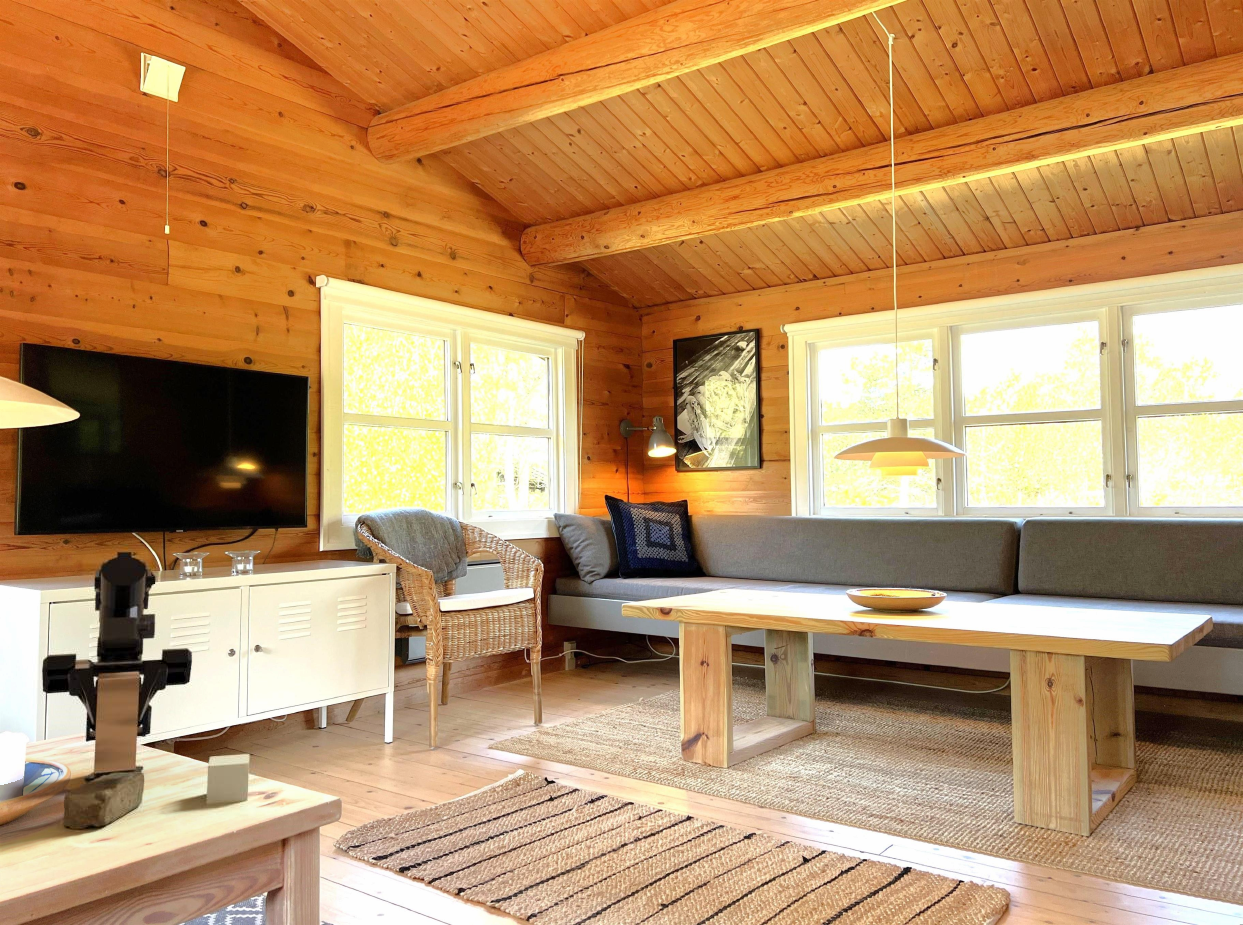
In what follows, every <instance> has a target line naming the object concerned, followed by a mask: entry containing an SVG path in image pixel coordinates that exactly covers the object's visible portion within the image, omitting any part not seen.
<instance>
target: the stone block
mask: <svg viewBox="0 0 1243 925" xmlns="http://www.w3.org/2000/svg"><path fill="white" fill-rule="evenodd" d="M144 789H145V775H144V773H143V772H142V771H140V772H130V773H121V772H120V773H111V774H110V775H103V776H101V777H100V778H97V779H95V780H93V781H88V782H87V783H84V784H83V785H80V786H79V787H77V788H75V789H73V790H71V791H68V792H67V793H66V794H65V796H64V798H63V808H64V811H63V821H62V826H63V827H64V828H71V829H73V830H84V829H86V828H88V827H93V826H94V827H100V826H107V825H108V824H111V823H113V822H115V821H117V820H118V819H121V817H124V816H125V815H127V814H128V813H129V812H131V811H133V810H135V809H136V808H139V806H141V804H142V802H143V794H144Z"/></svg>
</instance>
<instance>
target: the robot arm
mask: <svg viewBox="0 0 1243 925" xmlns="http://www.w3.org/2000/svg"><path fill="white" fill-rule="evenodd" d="M132 553H133V552H132V551H117V553H116V557H112V558H110V559H107V561H102V562H101V564H100V568H95V574H94V585H93V586H94V592H95V596H94V598H95V602H94V611H95V612H99V613H98V614H99V615H98V619H99V620H98V623H99V628H98V630H99V631H98V638H97V644H96V645H97V646H96V657H97V661H92V660H91V659H87V658H85V659H77V653H65V654H63V653H61V654H59V653H58V654H48V655H47V656H46V657H45V658H43V660H42V666H41V667H42V669H41V674H42V676H41V677H42V678H41V679H42V692H44V693H46V694H59V693H62V694H63V693H68V695H69V696H70V697H78V699H79V701H80V702H81V703H82V705H83V706H84V707H85V710H86V724H85V742H91V741H95V738H96V716H97V694H98V678H99V674H106V673H123V672H139V677H140V678H139V701H138V724H137V738H138V737H145V738H146V735H150V734H151V728H152V727H151V723H152V711H153V710H152V709H153V708H152V707H153V706H152V705H151V704H150V703H151V701H152V700H153V698H154V697H155V695H156V694H157V693H158V691H163V690H165V689H166V687H167V686H179V685H180V686H181V685H182V686H183V685H187V684H188V683H190V680H191V673H192V667H193V666H192V663H193V652H192V651H191V650H190V649H189V648H187V647H183V648H180V647H179V648H164V649H162V650H161V659H147V660H146V659H145V660H143V657H142V656H143V654H144V639H145V640H146V639H147V640H148V639H154V638H155V634H156V614H155V613H145V614H144V610H148V609H149V598H150V591H151V589H152V586H154V585H156V578H157V577H156V575H155V574H153V572H152V568H151V567H149V568H147V562H146V561H142V560H141V559H140V558H139V559H138V558H136V557H132V556H133V554H132ZM141 676H142V677H143V678H142V677H141ZM95 678H96V680H95ZM142 771H144V766H142V765H141V766H140V765H139V766H137V765H136V769H132V770H122V771H113V772H103V773H94V771H93V772H91V773H90V774H88V775H86V776H84V781H87V782H91V781H93V780H95V779H97V778H100V777H101V776H103V775H110V774H111V773H120V772H121V773H130V772H142Z"/></svg>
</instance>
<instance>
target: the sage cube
mask: <svg viewBox="0 0 1243 925" xmlns="http://www.w3.org/2000/svg"><path fill="white" fill-rule="evenodd" d="M250 755H251V754H250V753H242V754H230V755H228V754H227V755H219V756H218V755H217V756H216V755H215V756H210V757H209V759H208V760H209V761H208V765H207V781H206V782H207V787H206V805H213V804H215V805H217V804H224V803H237V802H246V801H247V802H248V801H249V800H248V798H249V780H250V779H249V778H250V776H249V775H250V774H249V773H250Z"/></svg>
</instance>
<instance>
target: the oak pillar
mask: <svg viewBox="0 0 1243 925" xmlns="http://www.w3.org/2000/svg"><path fill="white" fill-rule="evenodd" d="M140 677H141V676H140ZM140 677H139V672H123V673H106V674H99V678H97V679H98V694H97V716H96V738H95V740H94V741H95V742H94V760H93V761H94V762H93V763H94V764H93V772H94V773H103V772H113V771H122V770H132V769H136V766H137V765H136V764H137V748H138V747H137V744H138V742H137V741H138V740H137V739H138V737H137V724H138V701H139V678H140Z"/></svg>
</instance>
